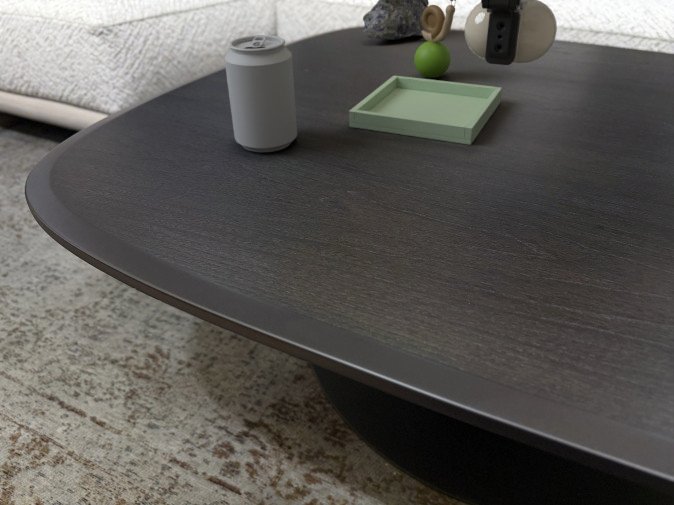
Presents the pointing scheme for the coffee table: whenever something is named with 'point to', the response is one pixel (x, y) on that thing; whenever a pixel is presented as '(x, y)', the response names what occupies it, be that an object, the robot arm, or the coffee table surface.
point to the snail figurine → (434, 42)
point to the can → (261, 92)
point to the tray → (427, 109)
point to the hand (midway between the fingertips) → (506, 53)
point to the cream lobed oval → (532, 34)
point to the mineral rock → (395, 19)
